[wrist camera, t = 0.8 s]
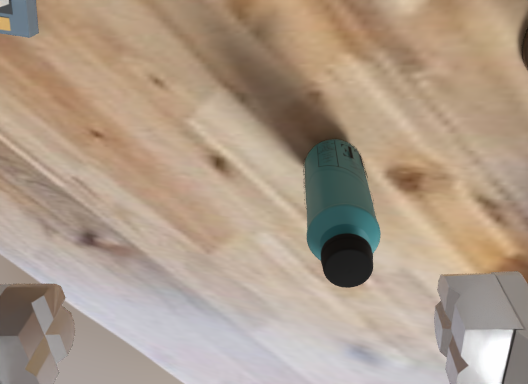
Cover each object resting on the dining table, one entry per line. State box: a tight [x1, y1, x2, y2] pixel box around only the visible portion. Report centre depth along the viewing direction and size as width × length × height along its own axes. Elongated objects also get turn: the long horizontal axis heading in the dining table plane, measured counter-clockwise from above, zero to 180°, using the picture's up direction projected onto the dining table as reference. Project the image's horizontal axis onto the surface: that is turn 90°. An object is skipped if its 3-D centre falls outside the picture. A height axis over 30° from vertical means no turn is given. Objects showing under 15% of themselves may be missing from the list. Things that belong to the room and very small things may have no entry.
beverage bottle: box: [303, 139, 380, 287], centre depth 47 cm, size 6×7×20 cm
